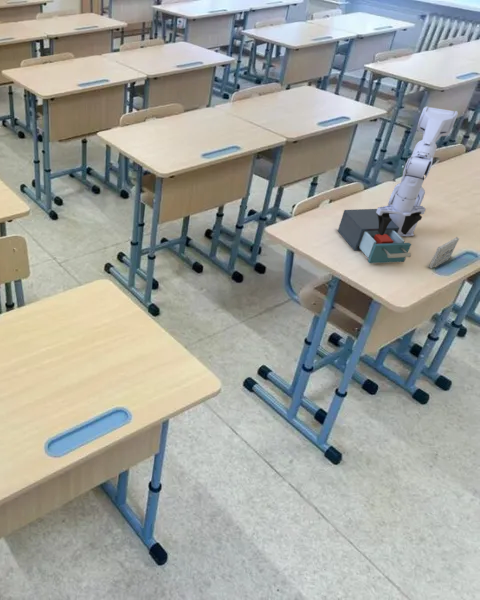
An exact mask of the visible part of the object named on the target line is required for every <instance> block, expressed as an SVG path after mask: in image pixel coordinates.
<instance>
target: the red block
mask: <svg viewBox="0 0 480 600" xmlns="http://www.w3.org/2000/svg"><path fill="white" fill-rule="evenodd" d="M374 240H375V241H376V244H385V243H393V240H392V239H391V238H390V237H389V236H388V235H387V234H383V235H380V234H376V235H375V236H374Z"/></svg>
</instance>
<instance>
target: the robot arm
mask: <svg viewBox="0 0 480 600" xmlns="http://www.w3.org/2000/svg"><path fill="white" fill-rule="evenodd" d="M458 115H459V111H458V110H449V109H444V108H438V107H431V106H428V105H426V106H424V107H423V109H422V111H421V114H420V117H419V119H418V123H417V127H416V128H417V131H418V132H419V133H421V134H422V137H421V138H422V139H421V140H419V141H418V142H417V143H416V144H415V146H414V148H413V151H412V153H411V155H410V157H408V158H407V161H406V163H405V165H404V168H403V171H402V176H401V180H400V182H399V183H397V184H396V185H395V186H394V188H393V190H392V191H391V195H390V196H389V198H388V199H389V200H388V202H387V205H384V206H377V208H376V209H377V212H376V213H377V215H378V221H379V229H378V233H379V234H380V235H383V234H384V233H385V230H386V228H387V226H388V224H389V223H390V221H391V220H392V221H393V222H394V223H395V224H396V225H397V226H398V227H399V230H398V233H397V234H398V235H399V236H400V237H401V238H402V237H414V236H415V234H414V233H415V231H416V227H417V225H418V223H419V222H420V221H421V220H422V215H425V212H426V208H425V206H423V205H422V203H423V201H424V199H425V197H424V196H425V195H426V190H425V188H424V187H423V184H424V182H425V180H426V179H427V178H428V175H429V173H430V170H431V168H432V166H433V160H434V156H435V154H436V151H437V148H438V146H437V142H438V140H439V139H440V138H441V137H446V136H448V135H449V134H450V133H451V131H452V129H453V128H454V125H455V122H456V121H457V118H458ZM391 204H392V205H391Z"/></svg>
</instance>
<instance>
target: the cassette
mask: <svg viewBox="0 0 480 600" xmlns="http://www.w3.org/2000/svg"><path fill="white" fill-rule="evenodd" d="M459 240H460V238H459V237H457V236H456V237H454V238H453V239H451V240H448V241H447V242H445V243H444V244H442V245H440V246H439V247H437V248H436V251H435V253H434V255H433V256H432V259H431V262H430V263H429V265H428V268H429V269H434V268H436V267H439V266H440V265H442V264H444V263H445V262H447V261H448V260H449V259H450V258H451V257H452V255H453V252H454V250H455V249H456V247H457V244H458V242H459Z"/></svg>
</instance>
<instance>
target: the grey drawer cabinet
mask: <svg viewBox="0 0 480 600" xmlns="http://www.w3.org/2000/svg"><path fill="white" fill-rule="evenodd" d="M377 209H378V208H362V209H359V208H358V209H357V208H356V209H344V210H343V212H342V215H341V219H340V223H339V225H338V229H337V232H338V233H339V234H340V236H342V238H343V239H344V241H346V242H347V244H348V245H349V247H351V248H352V250H353V251H354V252H355V251H356V252H357V251H358V252H359V251H362V250H361V249H360V248H359V247H358V245H359V242H360V239H361V237H362V234H363V231H378V229H379V221H378V215H377V213H376V212H377ZM386 230H394V231H395V232H396V233H398V230H399V227H398V226H397V225H396V224H395V223H394V222H393V221H392V220H391V221H390V223H389V224H388V226H387V228H386Z"/></svg>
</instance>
